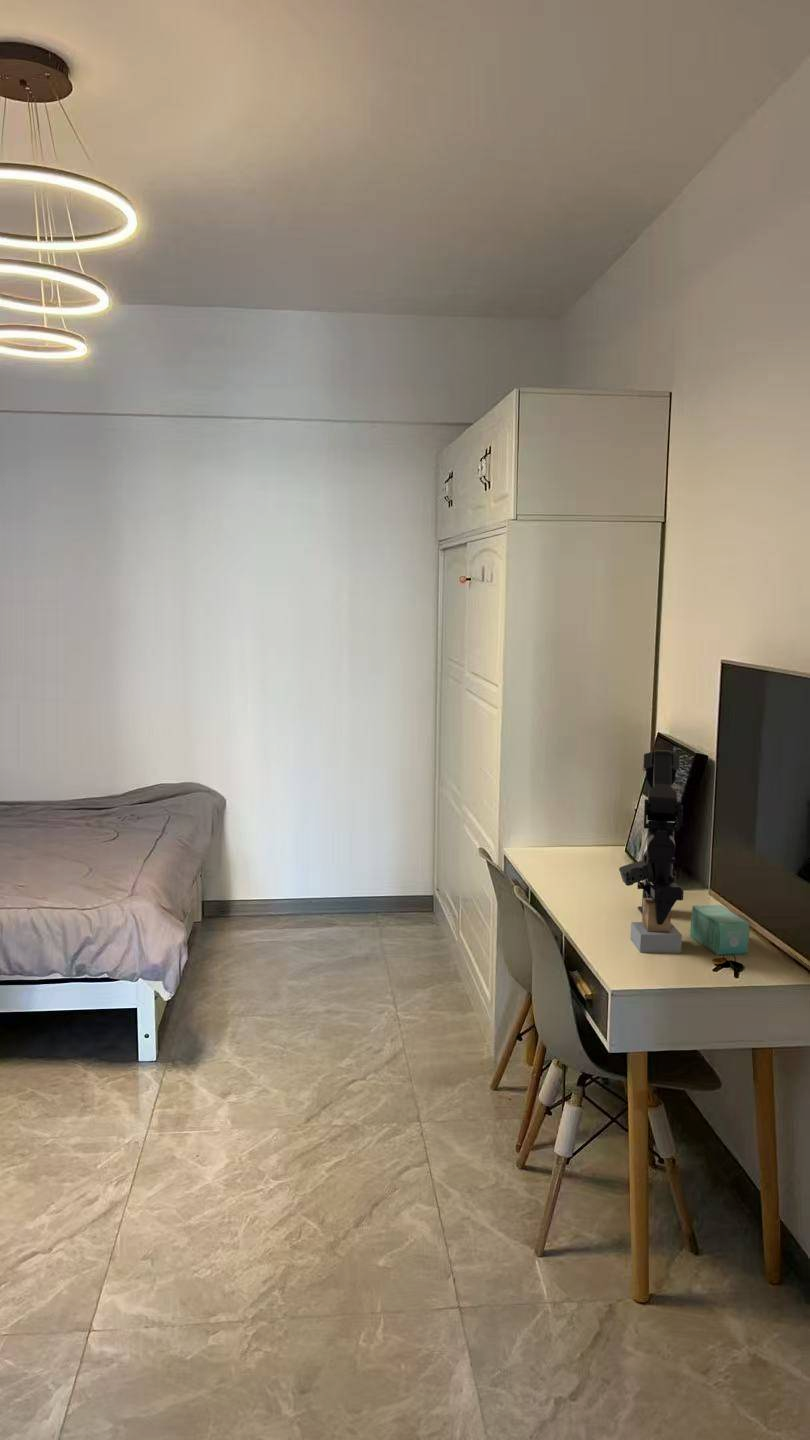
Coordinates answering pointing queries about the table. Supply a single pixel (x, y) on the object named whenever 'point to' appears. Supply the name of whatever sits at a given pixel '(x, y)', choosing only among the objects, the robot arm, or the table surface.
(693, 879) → the table surface
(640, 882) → the robot arm
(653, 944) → the base
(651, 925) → the block
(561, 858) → the table surface
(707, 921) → the box
